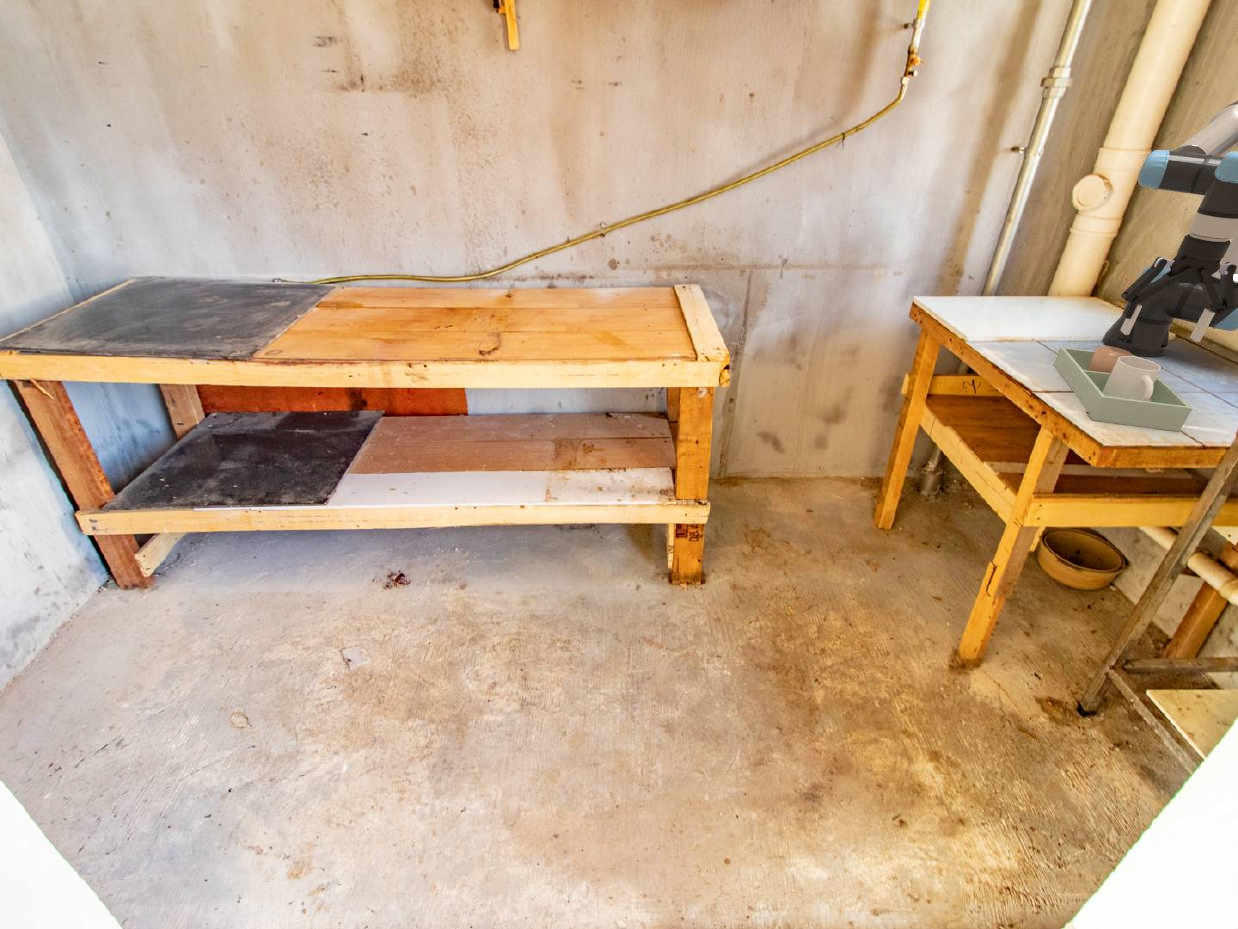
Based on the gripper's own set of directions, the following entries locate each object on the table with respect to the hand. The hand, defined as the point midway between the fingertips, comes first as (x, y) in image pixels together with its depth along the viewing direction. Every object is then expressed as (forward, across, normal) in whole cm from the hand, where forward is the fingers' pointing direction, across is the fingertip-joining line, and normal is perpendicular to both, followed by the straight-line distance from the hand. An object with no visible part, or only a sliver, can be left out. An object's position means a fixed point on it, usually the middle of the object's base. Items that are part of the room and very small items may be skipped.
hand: (1159, 336), depth 143 cm
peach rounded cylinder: (+18, 0, -14) cm, 23 cm away
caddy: (+18, 0, -7) cm, 20 cm away
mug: (+18, 0, 0) cm, 18 cm away
